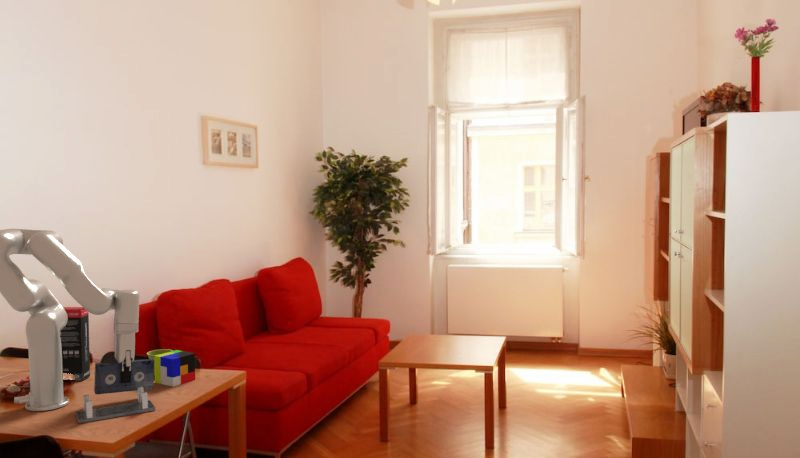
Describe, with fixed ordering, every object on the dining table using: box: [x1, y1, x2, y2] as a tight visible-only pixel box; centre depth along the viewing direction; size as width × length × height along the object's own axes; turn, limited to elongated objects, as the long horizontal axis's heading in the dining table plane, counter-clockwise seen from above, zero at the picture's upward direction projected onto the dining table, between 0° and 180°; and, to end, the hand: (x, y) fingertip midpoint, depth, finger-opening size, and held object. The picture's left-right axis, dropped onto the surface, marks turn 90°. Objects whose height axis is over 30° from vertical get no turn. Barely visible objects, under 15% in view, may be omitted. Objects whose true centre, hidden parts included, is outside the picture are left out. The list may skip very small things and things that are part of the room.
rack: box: [75, 386, 156, 424], centre depth 207 cm, size 22×9×6 cm, turn 122°
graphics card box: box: [60, 306, 91, 382], centre depth 244 cm, size 17×7×27 cm, turn 92°
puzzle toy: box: [154, 349, 196, 388], centre depth 241 cm, size 10×10×10 cm
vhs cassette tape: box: [93, 358, 155, 396], centre depth 220 cm, size 18×3×10 cm, turn 120°
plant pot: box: [146, 348, 173, 377], centre depth 251 cm, size 9×9×9 cm
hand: (124, 381), depth 220 cm, fingers closed on vhs cassette tape, 2 cm apart
